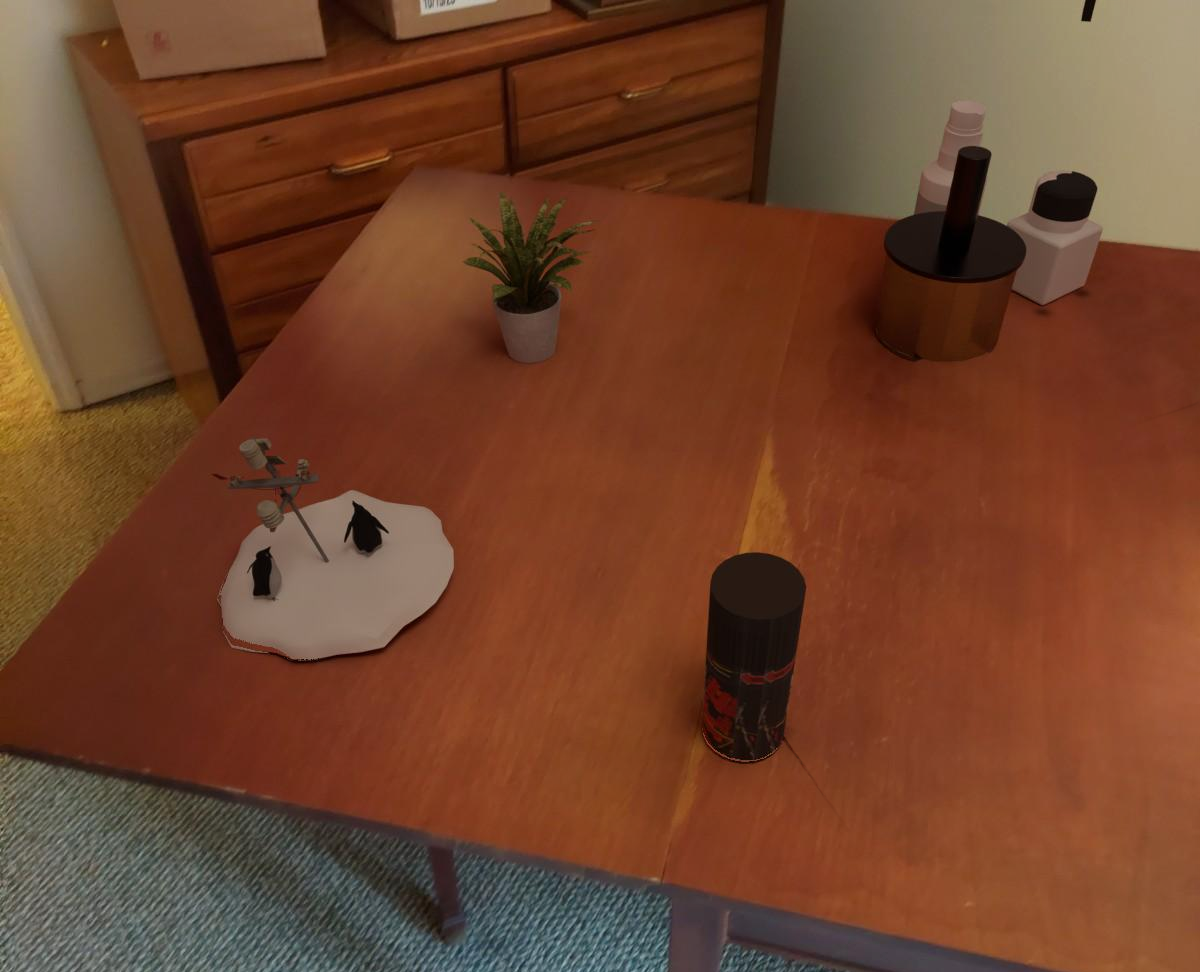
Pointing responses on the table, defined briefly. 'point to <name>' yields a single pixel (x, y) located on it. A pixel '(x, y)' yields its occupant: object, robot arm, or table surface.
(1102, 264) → the table surface
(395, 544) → the figurine
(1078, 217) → the medicine bottle
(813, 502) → the table surface
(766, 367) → the table surface
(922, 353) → the tin
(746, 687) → the deodorant
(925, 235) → the tin lid
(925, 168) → the spray bottle
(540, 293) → the house plant
